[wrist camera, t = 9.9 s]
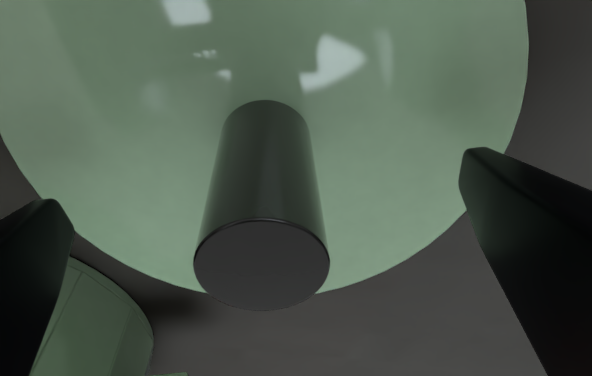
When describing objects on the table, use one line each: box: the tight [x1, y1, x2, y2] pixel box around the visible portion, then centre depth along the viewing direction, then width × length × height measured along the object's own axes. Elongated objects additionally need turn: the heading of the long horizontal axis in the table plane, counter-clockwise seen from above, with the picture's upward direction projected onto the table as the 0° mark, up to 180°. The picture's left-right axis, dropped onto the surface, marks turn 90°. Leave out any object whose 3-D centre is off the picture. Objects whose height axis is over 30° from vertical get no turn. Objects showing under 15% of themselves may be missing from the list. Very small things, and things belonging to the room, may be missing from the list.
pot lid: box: [0, 0, 529, 311], centre depth 9 cm, size 14×14×6 cm
